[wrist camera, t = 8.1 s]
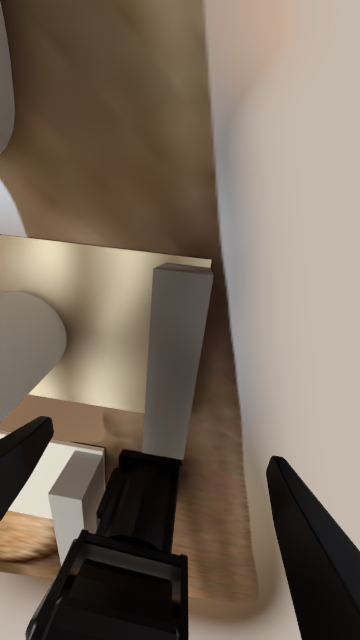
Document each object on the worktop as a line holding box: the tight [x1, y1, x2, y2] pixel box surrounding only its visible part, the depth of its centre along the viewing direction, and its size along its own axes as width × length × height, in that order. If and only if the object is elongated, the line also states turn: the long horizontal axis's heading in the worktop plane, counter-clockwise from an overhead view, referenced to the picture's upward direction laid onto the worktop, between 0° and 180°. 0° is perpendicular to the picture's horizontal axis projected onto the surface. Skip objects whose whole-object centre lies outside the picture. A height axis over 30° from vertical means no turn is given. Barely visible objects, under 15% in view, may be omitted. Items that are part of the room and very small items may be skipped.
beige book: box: [0, 234, 213, 460], centre depth 15 cm, size 20×14×4 cm
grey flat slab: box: [0, 430, 106, 566], centre depth 22 cm, size 20×14×4 cm
